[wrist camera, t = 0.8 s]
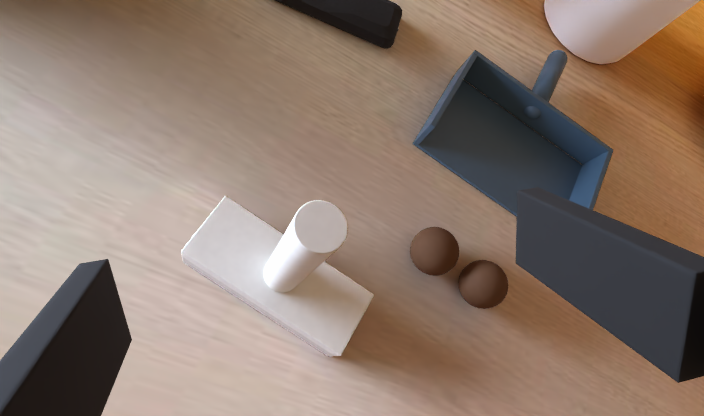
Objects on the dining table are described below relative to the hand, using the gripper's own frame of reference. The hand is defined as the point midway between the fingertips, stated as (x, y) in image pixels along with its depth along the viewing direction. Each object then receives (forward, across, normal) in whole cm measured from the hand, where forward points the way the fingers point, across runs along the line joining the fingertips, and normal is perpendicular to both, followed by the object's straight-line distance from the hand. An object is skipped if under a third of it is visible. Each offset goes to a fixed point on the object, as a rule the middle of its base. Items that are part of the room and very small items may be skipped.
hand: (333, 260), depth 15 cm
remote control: (+36, +7, +11) cm, 38 cm away
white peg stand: (+19, -2, -10) cm, 22 cm away
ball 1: (+20, +11, -10) cm, 25 cm away
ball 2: (+18, +15, -13) cm, 27 cm away
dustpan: (+30, +25, -3) cm, 39 cm away
